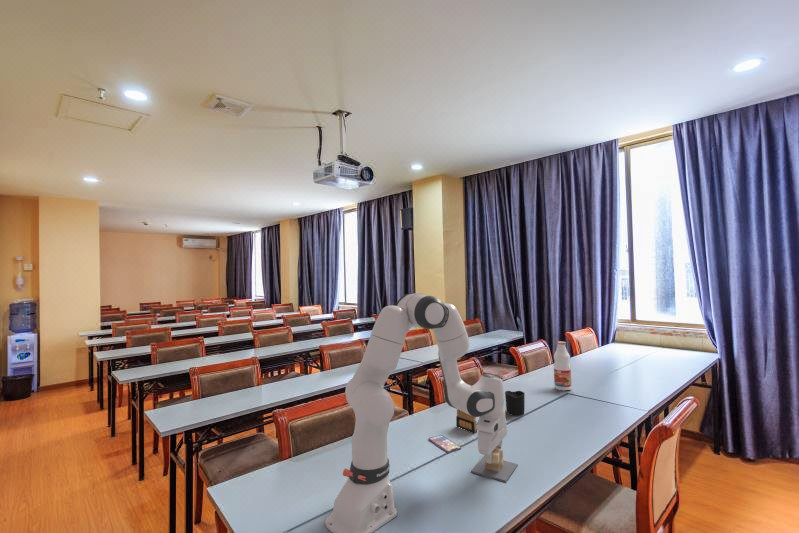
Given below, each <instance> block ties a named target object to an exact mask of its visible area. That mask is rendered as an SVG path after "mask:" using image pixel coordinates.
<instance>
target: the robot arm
mask: <svg viewBox="0 0 799 533" xmlns="http://www.w3.org/2000/svg"><path fill="white" fill-rule="evenodd" d="M412 327H415V328H416V327H417V328H421V329H426V330H432V331H433V334H434V338H435V342H436V344H437V348H438V354H437V356H438V360H439V365H440V370H441V373H442V377H443V382H444V400H445V402H446V403H447V404H448V406H449V407H452V408H453V409H456V410H457V409H459V410H461V411H462V412H464V413H467V414H469V415H471V416H473V417H476V418H478V420H477V421H476V430H477V436H476V439H477V447H478V449H477V450H478V452H479V454H481V455H483V456H485V457H486V462H487V463H489V464H491V463H492V461H493V460H492V457H491V454H492V453H491V452H492V451H493V450H494V449H495V448H498V449H502V446H503V440H504V438H505V437H506V436H507V432H508V430H507V428H508V427H507V420H506V409H505V405H504V404H505V401H506V398H505V387H504V381H503V379H502V378H501V377H500V376H498V375H494V374H491V373H490V374H489V373H483V374H481V375H480V378H479V379H478V381H477V382H475V383H474V384H473V385H470V384H468V383H466V382H465V381H464V380H463V379H462V378H461V375H460V370H459V366H458V359H460V358H462V357H463V356H465V355H466V353H467V352H468V350H469V348H470V338H469V335H468V332H467V328H466V326H465V323H464V321H463V319H462V317H461V314H460V312H459V311H458V308H457V307H456V305H454V304H452V303H449V302H448V303H447V302H445V303H444V302H443V301H442V300H441V299H440V298H438V297H436V296H434V295H427V294H425V293H413V292H409V293H406V294H403V295H402V296H400V298H399V299H398V300H397V301H396V303H395V304H394V305H393V304H391V305H387V306H384V307H383V308H382V309H381V311H380V312H379V315H378V316H377V318H376V321H375V323H374V324H373V327H372V330H371V333H370V336H369V339H368V342H367V344H366V348H365V351H364V353H363V357H362V360H361V361H360V363H359V365H358V367H357V369H356V371H355V373H354V375H353V376H352V377H351V379H350V380H349V381H348V382H347V383H346V385H345V398H346V402H347V404H348V405H349V407H351V409H352V411H353V412H354V415H355V416H354V418H355V423H354V431H353V434H352V435H351V455H352V460H351V463H350V467H349V469H348V468H344V469H343V471H342V476H344V477H346V478H347V480H345V481H346V482H345V483H344V485H343V486H342V488H341V489H340V491H339V492H338V495H337V496H336V498H335V499H334V502H333V509H332V512H331V513H330V514H329V515H328V516H327V517H326V519H325V521H324V525H325V527H326V528H327V529H328V531H329V532H331V533H373V532H376V530H378V529H380V528H381V527H383V526H384V525H385V524H387V523H388V522H390V521H391V520H394V518H396V517H398V510H397V508H396V507H395V500H394V499H395V498H394V493H393V492H394V491H393V485H392V483H391V479H390V475H389V474H390V466H391V464H390V458H389V456H388V432H389V425H390V421H391V420H392V418H393V417H394V414H395V403H394V400H393V399H392V397H391V395H390V393H389V391H388V390H387V389H385V388H384V387H385V384H386V382H387V380H388V379H389V377H390V375H392V373H393V372H394V371H395V370H396V369H397V367H398V363H399V360H400V358H401V353H402V350H403V347H404V344H405V341H406V336H407V334H408V332H409V331H410V329H411V328H412Z"/></svg>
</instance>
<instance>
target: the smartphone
mask: <svg viewBox="0 0 799 533" xmlns="http://www.w3.org/2000/svg"><path fill="white" fill-rule="evenodd" d="M429 440H430V441H429ZM428 441H429V442H431V443H432V444H434V445H435V446H436V445H437V447H438V448H439V449H441V450H442V451H443V452H445V453H448V454H450V453H453V452H456V451H460V450H462V446H461V445H459V444H457V443H456V442H454V441H452V440H450V439H449V438H448V437H446V436H445V435H442V434H438V435H435V436H431V437H429V438H428Z"/></svg>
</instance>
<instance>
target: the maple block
mask: <svg viewBox="0 0 799 533" xmlns="http://www.w3.org/2000/svg"><path fill="white" fill-rule="evenodd" d="M491 453H492V454H491V457H492V460H493V461H492V463H491V464H489V463H487V462H486V457H485V469H488V470H492V471H496V472H499V471H500V470H501V469H502V467H503V460H504V450H503V448H501V449H498V448H495V449H494V450H493V451H492V452H491Z"/></svg>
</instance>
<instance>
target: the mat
mask: <svg viewBox="0 0 799 533" xmlns="http://www.w3.org/2000/svg"><path fill="white" fill-rule="evenodd" d="M518 466H519V464H518V463H514V462H510V461H507V460H504V459H503V467H502V469H501V470H500V471H499V472H496V471H492V470H488V469H485V455H483V456H482V457H481V458H480V460H479V461H478V462H477V463H476V464H475V465H474V466H473V468H472V469H471V470H470V473H472V474H475V475H479V476H483V477H486V478H489V479H493V480H497V481H501V482H504V483H508V481H509V480H510V478H511V476H512V475H513V474H514V472H515V470H516V469H517V468H518Z"/></svg>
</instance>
